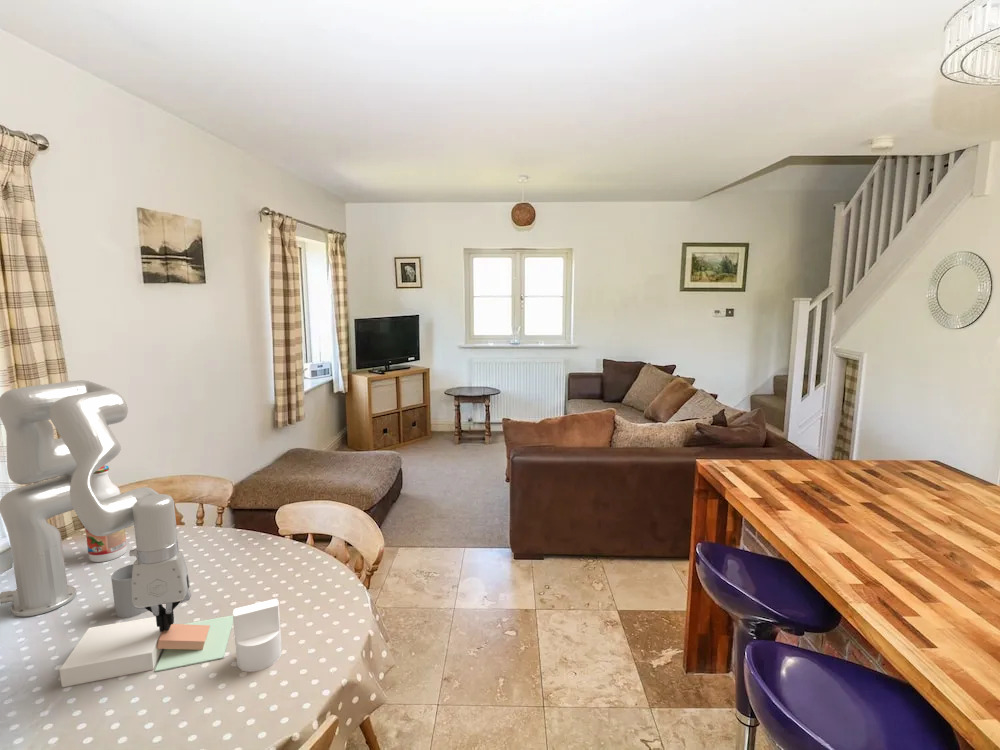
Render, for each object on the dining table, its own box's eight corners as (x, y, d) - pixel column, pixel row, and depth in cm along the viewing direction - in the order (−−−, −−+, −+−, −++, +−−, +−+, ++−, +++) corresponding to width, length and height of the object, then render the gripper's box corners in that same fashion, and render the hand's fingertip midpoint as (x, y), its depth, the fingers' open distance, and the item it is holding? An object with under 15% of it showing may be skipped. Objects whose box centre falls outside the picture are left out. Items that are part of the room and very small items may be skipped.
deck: (61, 687, 104) (59, 669, 103) (91, 643, 117) (89, 627, 116) (153, 669, 109) (151, 652, 108) (171, 629, 122) (170, 614, 122)
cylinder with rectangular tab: (237, 677, 107) (233, 624, 105) (236, 650, 115) (232, 601, 113) (283, 663, 111) (280, 612, 109) (280, 638, 119) (276, 591, 117)
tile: (156, 648, 112) (158, 640, 112) (164, 631, 117) (166, 623, 117) (202, 649, 115) (204, 641, 115) (208, 633, 120) (210, 625, 120)
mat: (154, 672, 108) (154, 670, 108) (175, 626, 123) (174, 625, 123) (223, 658, 113) (223, 657, 112) (235, 615, 127) (234, 614, 127)
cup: (163, 601, 133) (159, 566, 132) (131, 620, 126) (127, 582, 124) (140, 595, 136) (136, 560, 134) (107, 613, 128) (103, 576, 127)
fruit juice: (127, 556, 156) (118, 468, 152) (88, 566, 151) (77, 475, 146) (127, 544, 164) (117, 460, 159) (89, 553, 158) (78, 466, 154)
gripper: (111, 565, 107) (120, 645, 109) (192, 554, 111) (199, 631, 114) (124, 548, 114) (132, 624, 116) (200, 538, 118) (207, 611, 121)
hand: (166, 627), depth 115 cm, fingers closed
